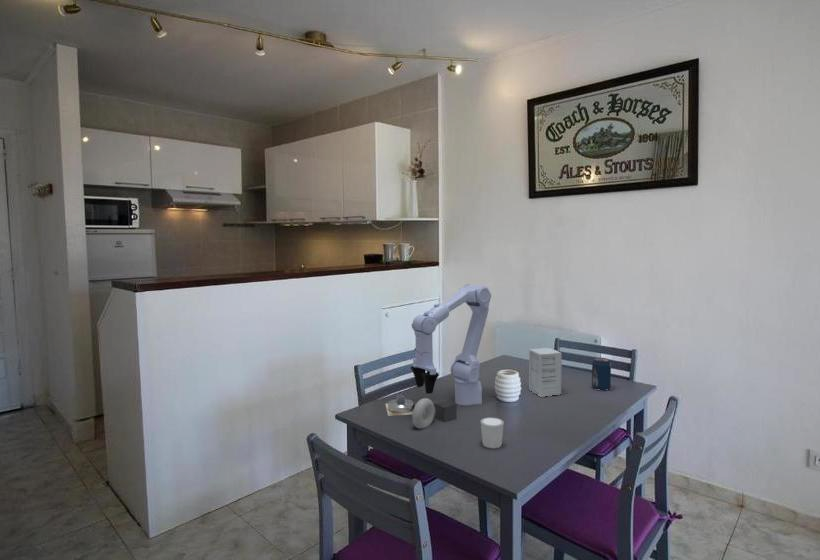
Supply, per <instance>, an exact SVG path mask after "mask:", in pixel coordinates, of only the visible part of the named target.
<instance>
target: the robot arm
mask: <svg viewBox="0 0 820 560" xmlns="http://www.w3.org/2000/svg"><path fill="white" fill-rule="evenodd" d="M491 299H492V294H491V291H490V290H489V287H487V286H485V285H472V284H465V285H463V286H462V287H460V288H459V290H458V291H457V292H456V293H455V294H454V295H452V296H451V297H450V298H449V299H447V300H446V301H445V302H444V303H434V304H433V307H431V308H430V309H429V310H425V311H424V312H423V314H418V315H416V316H415V317H414V319H413V320H412V323H411V328H412V330H413V332H414V336H415V358H412V366H410V370H411V371H412V373H413V376H414V380H415V385H416V387H417V388H420V387H421V388H422V387H424V389H425V394H427V395H428V394H433V392H434V389H435V384H436V382H437V379H438V377H439V376H440V374H439V372H437V368H436V367H435V364H434V363H433V352H434V351H433V350H434V349H433V333H434V332H435V331H436V329H437V326H438V325H439V324H441V322H443V321H445V320H447V318H449V315H450V312H452V311H453V310H455V309H457V308H458V307H459V306H461V305H463V304H464V303H465V304H466V305H467V306H468V307H469V308H470V310H471V311H472V312H471V313H472V314H471V317H470V321H469V323H468V324H469V325H468V328H467V331H466V335H465V338H464V343H463V346H462V350H461V352H460V354H458V355H457V356H455V359H454V360H453V363H452V364H451V367H450V375H451V376H452V378H453V380H454V402H455V403H454V404H456V405H460V406H472V405H473V406H474V405H483V404H482V403H483V400H482V399H483V397H482V395H483V393H482V392H483V390H482V389H483V387H482V383H481V381H480V380H479V378H480V367H481V363H480V361H479V360H478V358H477V355H478V351H479V348H480V345H481V342H482V341H481V340H482V338H483V333H484V329H485V326H486V323H487V322H486V321H487V319H488V314H489V306H490V301H491Z"/></svg>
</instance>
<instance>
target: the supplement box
mask: <svg viewBox="0 0 820 560" xmlns="http://www.w3.org/2000/svg"><path fill="white" fill-rule="evenodd" d="M562 354H563V353H562V352H560V351H558V350H555V349H554V348H550V347H542V348H541V347H540V348H529V349H528V358H529V359H528V365H529V366H528V391H529V390H530V392H531V391H532V392H531V393H533V394H534V393H535V394H534V395H536V394H537V395H538V397H539V396H540V397H539V398H544V397H545V396H548V397H553V396H552V395H558V396H560V395H559V394H561V395H562V363H563V362H562V360H563V359H562ZM537 395H536V396H537ZM545 398H546V397H545Z"/></svg>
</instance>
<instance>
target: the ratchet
mask: <svg viewBox="0 0 820 560" xmlns="http://www.w3.org/2000/svg"><path fill="white" fill-rule="evenodd" d="M431 401H432V402H433V404H434V407H435V403H439V402H443V401H447V400H446V399H440V400H431ZM417 402H418V401H413V400H411V399H407V398H405V395H404V394H396V398H394V399H391V400H388V402H387V403H388V410H389V411H390V412H393V413H407V412H410V411H412V410H413V408H414V407H415V405H416V404H417Z"/></svg>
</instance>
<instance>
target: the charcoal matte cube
mask: <svg viewBox="0 0 820 560" xmlns="http://www.w3.org/2000/svg"><path fill="white" fill-rule="evenodd" d="M457 405H458V404H457V403H454V402H452V401H449V400H446V401H443V402H439V403H435V408H436V413H435V418H437V420H440V421H441V422H443V423H447V422H450V421H454V420H457V412H458V411H457Z"/></svg>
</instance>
